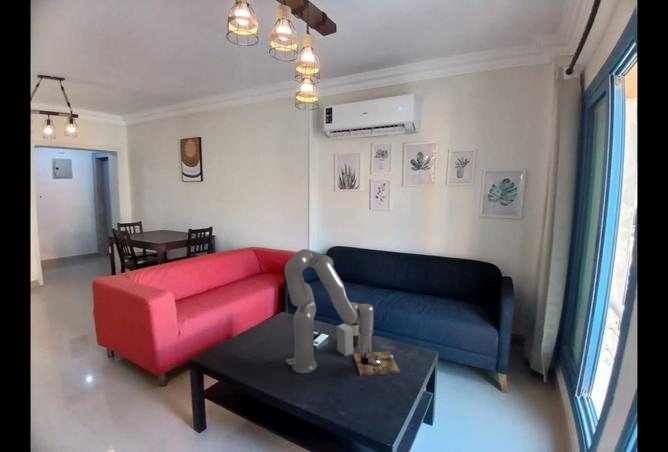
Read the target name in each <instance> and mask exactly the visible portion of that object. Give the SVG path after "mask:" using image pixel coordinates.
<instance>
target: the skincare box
mask: <svg viewBox="0 0 668 452" xmlns="http://www.w3.org/2000/svg"><path fill="white" fill-rule="evenodd" d="M336 342H337V343H336V344H337V345H336V346H337V348H336V349H337V351H338V352H339V353H341V354H342V355H343V356H345V357H346V356H349V355H353V354H354V346H353V328H352V327H350V326H348V324H346V323H345V322H343V323H341V324H339V325H336Z"/></svg>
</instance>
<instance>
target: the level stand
mask: <svg viewBox="0 0 668 452" xmlns="http://www.w3.org/2000/svg"><path fill="white" fill-rule="evenodd" d="M352 355H353V359H354V362H355V365H356V366H357V367H356V368H357V370H358V373H359V376H360V377H361V376H374V375H375V376H376V375H388V374H390V373H391V374H400V368H399V367H398V365H397V363H396V361H395V359H394V358H393V359H391V360H382V363H381V364H380V365H371V364H369V363H368V364H367V365H362V363H361V362H360V352H356V353H355V352H353V354H352ZM370 355H377V356H380V357H381V358H389V356H390V355H392V354H391V352H390V351H388V350H387V351H371V354H369V356H370Z"/></svg>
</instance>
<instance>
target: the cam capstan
mask: <svg viewBox="0 0 668 452" xmlns="http://www.w3.org/2000/svg"><path fill="white" fill-rule="evenodd" d="M359 353H360V362H361V363H362V356H363V355H362V354H361V352H360V351H359ZM391 359H394V355H393V354H391V355H390V356H389V358H381V357H380V356H377V355H370V356H369V358H368V363H369V364H371V365H380V364H381V363H382V360H391Z"/></svg>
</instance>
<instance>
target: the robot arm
mask: <svg viewBox="0 0 668 452" xmlns="http://www.w3.org/2000/svg"><path fill="white" fill-rule="evenodd" d="M308 267H310V268H314V270H315V272H316V275H317V276H318V278H319V280H320V281H321V282H322V285H323V286H324V288H325V289H326V291H327V293H328V296H329V297H330V300H331V302H332V304H333V307H334V309H335V311H336V312H337V314H338V316H339V317H340V318H341V321H342V322H343V323H345V324H346V325H348V324H354V323H355V322H356V321H358V333H359V335H358V345H357V347H358V349H359V353H360V352H361V354H362V355H363V356H362V365H367V364H368V358H369V354H371V352H372V334H374V306H373V305H371V304H370V303H358V302H353V301H349V299H348V297H347V293H346V288H345V286H344V283H343V281H342V280H341V278H340V276H339V274H338V272H336V269H335V268H334V260H333V259H332V257H330V256H328V255H326V254H324V253H323V254H322V253H320V252H316V251H314V250H311V249H306V248H302V249H301V250H298V251H297V252H296V253H295V254H294V255H293V256H292V257H291V258H290V259H288V261H287V262H286V263H285V266H284V276H285V279H286V284H287V289H288V293H289V297H290V301H291V303H292V304H293V305H294V306H295V307H297V309H296V311H295V313H294V315H293V328H294V357H292V358H286V360H285V361H286V364H288V366H291V368H292V370H293V371H294V372H296V373H299V374H308V373H312V372H314V371H315V370H317V365H318V363H317V361H316V360H314V359H315V357H314V356H315V354H314V353H315V351H314V346H315V345H314V344H315V343H314V342H315V341H314V338H315V337H314V334H315V333H314V319H315V316H316V313H317V306H316V302H315V298H314V293H313V289H312V287H311V285H310V284H308V283H307V282H305V279H304V275H303V271H304V270H306V268H308Z"/></svg>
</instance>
